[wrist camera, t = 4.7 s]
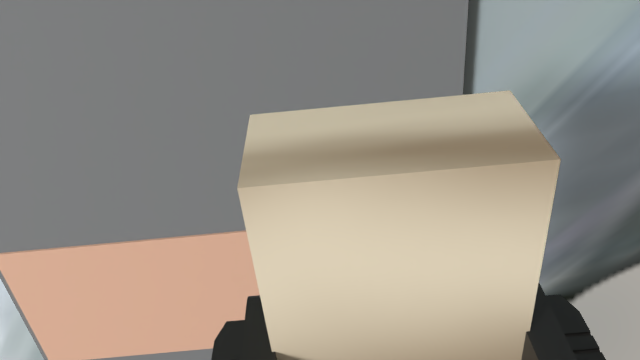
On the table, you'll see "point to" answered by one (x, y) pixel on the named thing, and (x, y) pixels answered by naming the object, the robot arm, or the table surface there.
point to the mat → (172, 148)
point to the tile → (398, 227)
